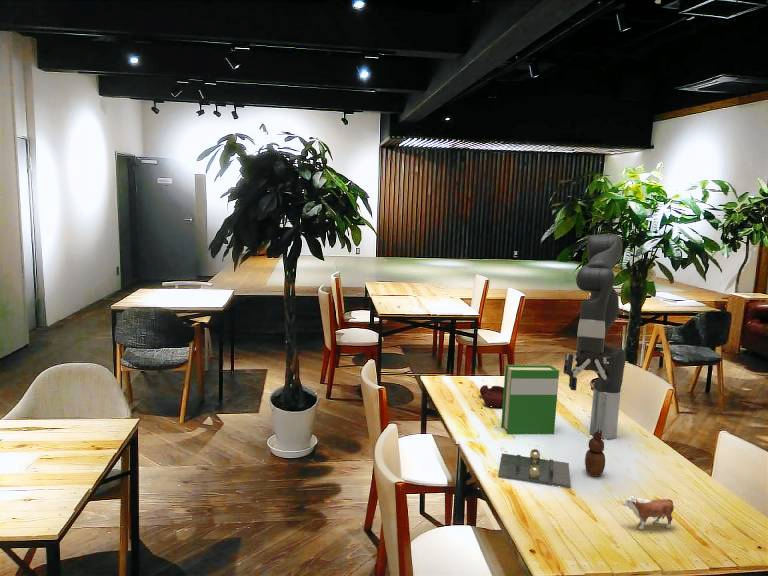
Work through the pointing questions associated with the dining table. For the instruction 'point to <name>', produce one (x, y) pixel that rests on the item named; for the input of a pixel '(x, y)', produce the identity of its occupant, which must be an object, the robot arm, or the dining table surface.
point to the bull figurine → (650, 509)
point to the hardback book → (530, 399)
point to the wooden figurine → (595, 455)
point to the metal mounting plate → (535, 469)
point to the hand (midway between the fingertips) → (586, 391)
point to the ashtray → (492, 395)
